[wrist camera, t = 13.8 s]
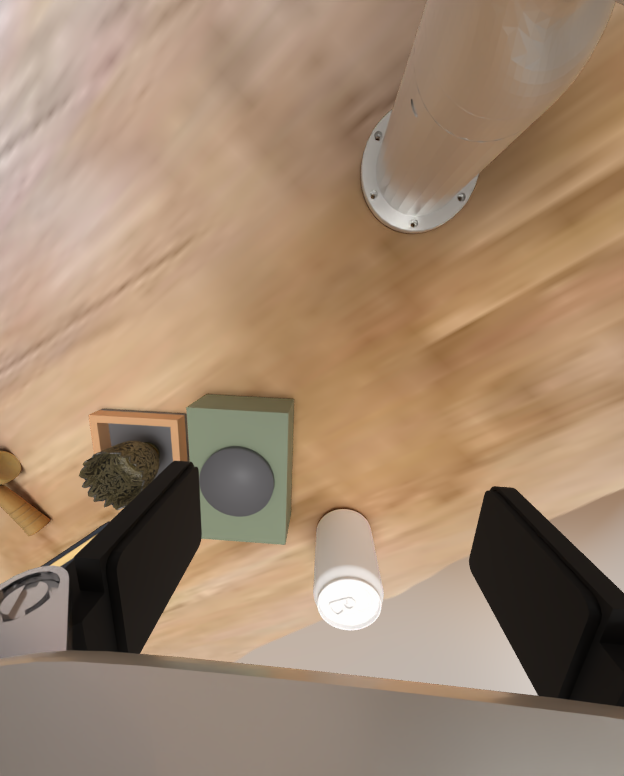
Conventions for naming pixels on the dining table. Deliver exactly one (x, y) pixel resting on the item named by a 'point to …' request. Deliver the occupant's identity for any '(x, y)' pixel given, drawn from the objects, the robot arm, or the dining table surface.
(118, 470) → the dark bronze domed piece
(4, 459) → the kendama
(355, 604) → the beverage can
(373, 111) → the dining table surface
